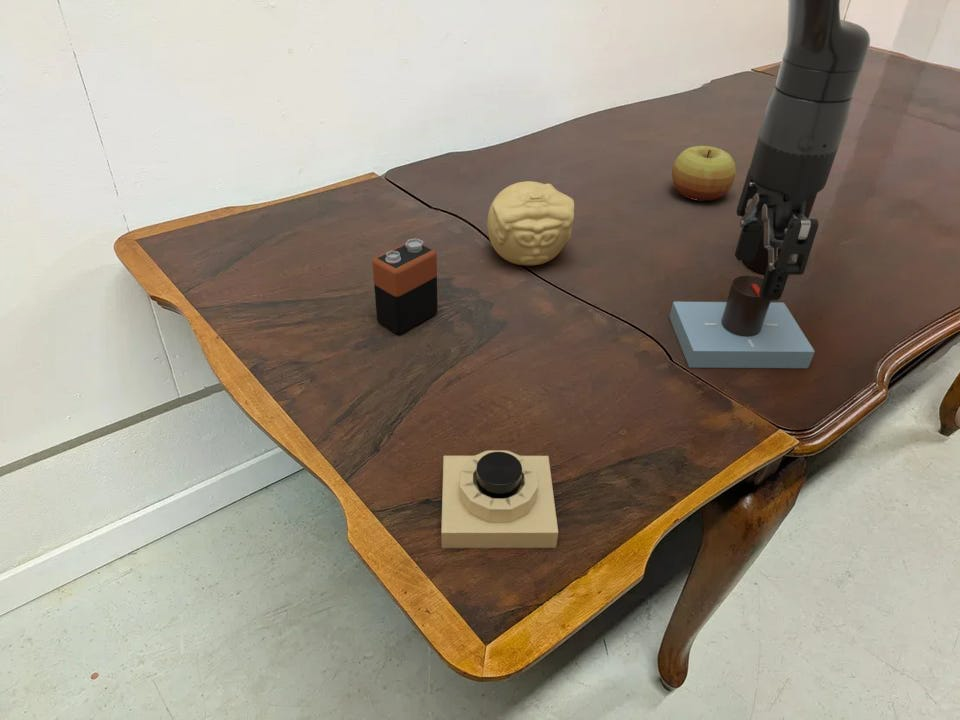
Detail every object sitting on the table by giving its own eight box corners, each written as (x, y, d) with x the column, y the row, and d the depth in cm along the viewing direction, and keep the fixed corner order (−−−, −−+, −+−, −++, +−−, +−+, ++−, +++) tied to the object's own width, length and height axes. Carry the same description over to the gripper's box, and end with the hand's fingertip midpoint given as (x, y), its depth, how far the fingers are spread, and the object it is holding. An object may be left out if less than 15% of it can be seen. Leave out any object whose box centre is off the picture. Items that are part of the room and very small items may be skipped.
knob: (715, 314, 86) (727, 273, 82) (752, 313, 86) (765, 272, 83) (729, 337, 82) (742, 295, 79) (767, 335, 83) (781, 294, 79)
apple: (692, 212, 113) (703, 164, 108) (656, 187, 120) (665, 141, 115) (741, 202, 116) (753, 155, 111) (703, 178, 123) (713, 133, 118)
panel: (778, 318, 90) (784, 301, 88) (808, 368, 82) (815, 350, 81) (669, 317, 90) (673, 300, 88) (688, 367, 82) (693, 349, 80)
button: (519, 464, 65) (520, 451, 63) (522, 498, 61) (523, 485, 60) (475, 464, 64) (476, 451, 63) (476, 498, 61) (476, 485, 60)
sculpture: (494, 278, 96) (497, 206, 89) (480, 235, 105) (482, 166, 98) (576, 273, 97) (585, 201, 91) (555, 231, 107) (562, 163, 100)
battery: (439, 314, 89) (438, 243, 83) (399, 337, 85) (395, 265, 79) (415, 300, 91) (412, 231, 85) (375, 322, 87) (369, 251, 81)
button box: (546, 471, 69) (550, 442, 66) (556, 548, 62) (560, 519, 59) (443, 471, 69) (443, 441, 66) (441, 548, 62) (441, 519, 59)
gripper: (868, 166, 65) (813, 313, 75) (808, 113, 76) (767, 247, 86) (787, 165, 64) (742, 313, 74) (739, 112, 76) (705, 246, 86)
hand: (755, 277), depth 80 cm, fingers open, 8 cm apart
